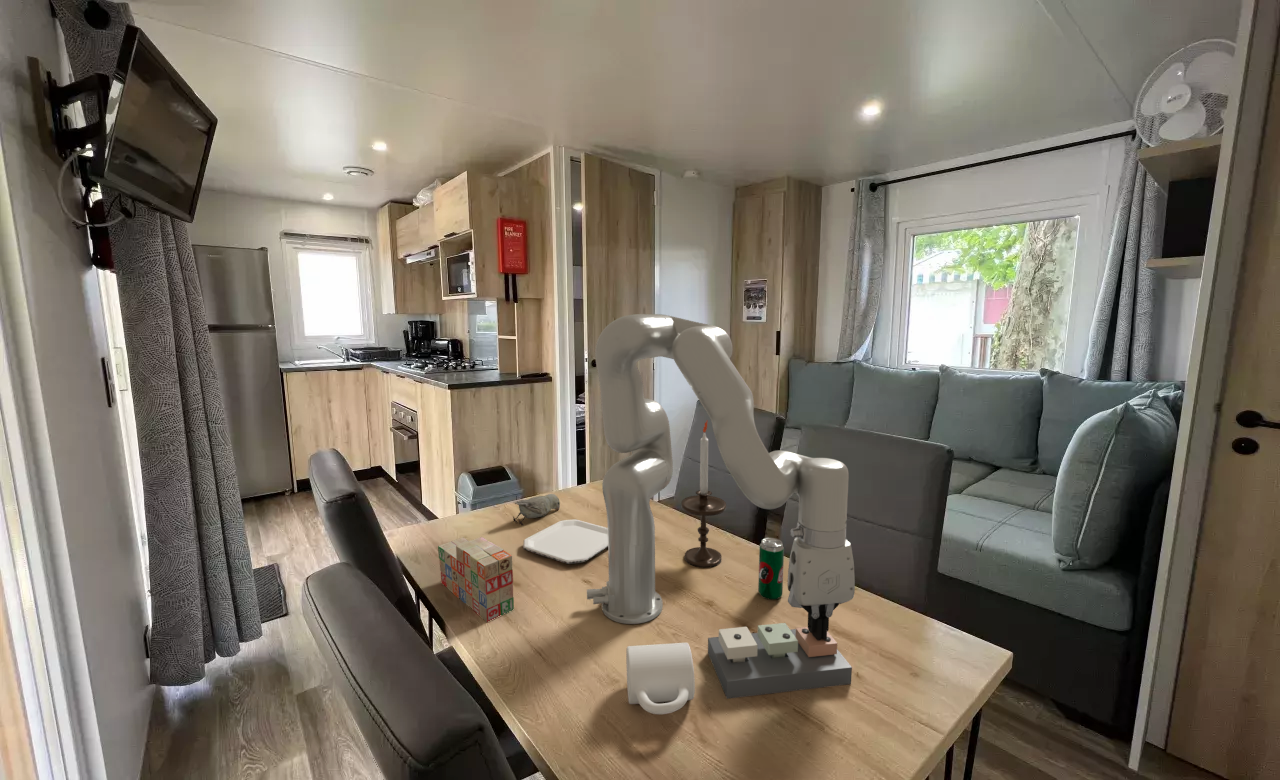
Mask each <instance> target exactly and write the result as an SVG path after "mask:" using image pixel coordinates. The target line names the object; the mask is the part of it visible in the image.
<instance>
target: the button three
mask: <svg viewBox="0 0 1280 780" xmlns="http://www.w3.org/2000/svg"><path fill="white" fill-rule="evenodd" d="M795 629H796V636H795V637H796V639H797V640H798V643H799V644H800V646H801V647H802V648H803V650H804V651H805V653H806V654H807V655H808V657H815V656H824V655H833V654H837V649H838V642H837V640H835V639H834V637H833V636H832V635H831V634H830V632H829V630H828V631H827V639H825V640H823V639H821V640H816V638H815V637H814V636H813V634H812V633H810V631H809V630H808V626H805V627H804V626H803V627H795Z"/></svg>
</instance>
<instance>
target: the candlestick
mask: <svg viewBox="0 0 1280 780" xmlns="http://www.w3.org/2000/svg"><path fill="white" fill-rule="evenodd" d="M707 428H708V419H706V422H704V426H703V429H702V431H703V432H702V437H701V438H700V442H699V443H700V446H699V447H700V450H699V451H700V452H699V455H700V456H699V458H700V459H699V460H700V461H699V464H700V465H699V490H696V491H695V494H696V495H690V496H688V497H685V498H683V499H682V500H681V503H680V508H681V509H682V511H684V512H686V513H688V514H691V515H694V516H700V526H699V527H698V528H697V532H698V534H699V537H698V542H699V544H700V546H697V547H691V548H689V549H687V550H686V551H685V552H684V560H685V562H686V563H687V564H688V565H690V566H692V567H695V568H703V569H711V568H714V567H716V566H719V565H720V564H721V563H722V554H721V552H719V551H718V550H717V549H714V548H711V547H707V542H708V541H709V538H708V537H707V536H708V534H709V533H710V528H709V527H707V517H711V516H718V515H721V514H723V513H724V512H726V510H727V502H726V501H725V500H724V499H722V498H720V497H717V496H712V494H713V493H712V491H711V490H708V489H709V481H708V480H709V438H708V437H707V434H706V432H707Z"/></svg>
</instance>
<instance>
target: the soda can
mask: <svg viewBox="0 0 1280 780" xmlns="http://www.w3.org/2000/svg"><path fill="white" fill-rule="evenodd" d="M758 550H759V551H758V554H759V555H758V583H757V585H758V590H757V591H758V594H759V595H760V596H761V597H763V598H764V599H765V600H771V601H774V600H779V599H780V598H782V596H783V588H784V585H783V584H784V562H785V548H784V545H783V541H782V540H780V539H779V538H774V537H764V538H763V539H761V543H760V544H759V549H758Z"/></svg>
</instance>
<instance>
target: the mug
mask: <svg viewBox="0 0 1280 780" xmlns="http://www.w3.org/2000/svg"><path fill="white" fill-rule="evenodd" d="M625 653H626V660H625V661H626V662H625V663H626V683H627V684H626V686H627V699H628V704H629V705H636V704H639V705H640V707H641V708H642V709H643V710H644V711H646V712H647V713H649V714H653V715H668V714H671V713H674V712H676V711H679V710H681V708H683V707H684V706H685V705H686V704H687V701H693V699H694V698H695V691H696V690H695V689H696V687H695V686H696V685H695V684H696V682H695V679H696V678H695V670H694V669H695V668H694V660H693V654H692V649H691V647H690V644H689V642H676V643H675V642H674V643H673V642H672V643H658V644H642V645H627V646H626V652H625ZM664 702H665V703H664Z"/></svg>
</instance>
